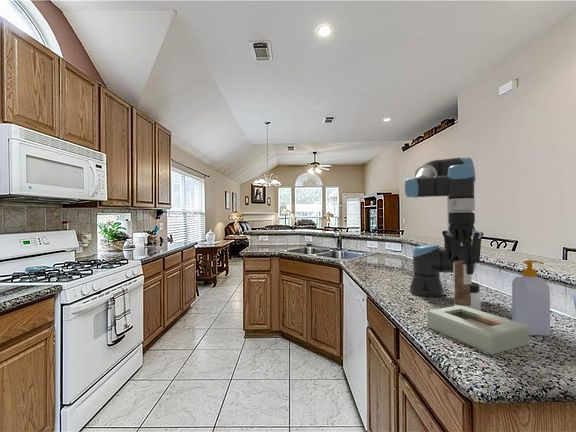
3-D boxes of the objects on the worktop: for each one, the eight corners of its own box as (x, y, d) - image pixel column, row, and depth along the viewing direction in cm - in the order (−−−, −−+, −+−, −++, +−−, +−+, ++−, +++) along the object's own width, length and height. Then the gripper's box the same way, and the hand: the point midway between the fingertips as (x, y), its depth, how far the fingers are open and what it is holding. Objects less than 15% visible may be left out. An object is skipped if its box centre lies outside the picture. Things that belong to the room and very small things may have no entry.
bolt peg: (450, 302, 100) (450, 261, 99) (461, 301, 101) (460, 260, 101) (463, 306, 95) (463, 263, 95) (474, 305, 97) (473, 262, 97)
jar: (456, 317, 111) (456, 285, 110) (451, 310, 118) (451, 280, 118) (484, 319, 108) (483, 286, 108) (477, 312, 116) (477, 281, 116)
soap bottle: (553, 336, 92) (552, 263, 92) (528, 335, 93) (527, 262, 93) (535, 326, 101) (534, 258, 101) (512, 325, 102) (511, 258, 102)
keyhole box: (427, 326, 102) (427, 310, 102) (461, 320, 108) (460, 304, 108) (491, 354, 81) (491, 334, 81) (528, 344, 87) (528, 325, 87)
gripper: (432, 212, 104) (433, 279, 104) (476, 211, 89) (477, 289, 89) (448, 212, 107) (449, 277, 107) (493, 211, 92) (494, 286, 92)
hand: (462, 282), depth 98 cm, fingers closed on bolt peg, 3 cm apart
